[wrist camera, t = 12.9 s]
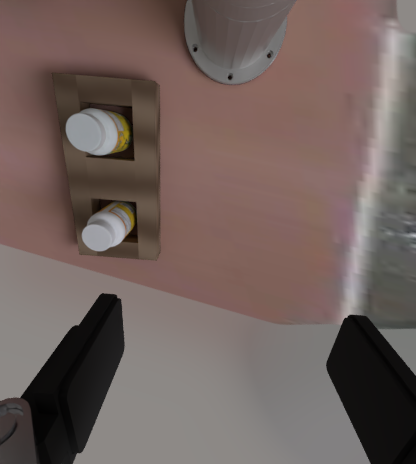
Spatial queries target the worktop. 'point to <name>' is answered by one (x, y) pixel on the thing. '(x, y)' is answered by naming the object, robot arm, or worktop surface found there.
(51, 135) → the worktop surface
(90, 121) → the supplement bottle
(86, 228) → the supplement bottle
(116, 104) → the bottle rack
